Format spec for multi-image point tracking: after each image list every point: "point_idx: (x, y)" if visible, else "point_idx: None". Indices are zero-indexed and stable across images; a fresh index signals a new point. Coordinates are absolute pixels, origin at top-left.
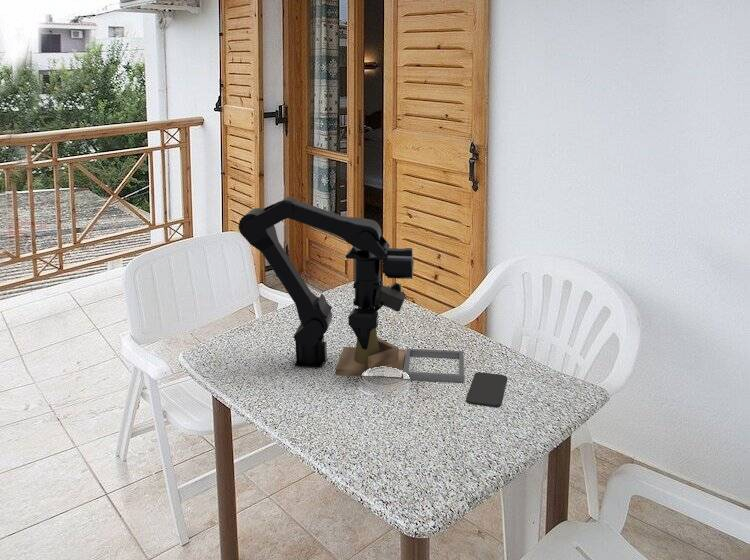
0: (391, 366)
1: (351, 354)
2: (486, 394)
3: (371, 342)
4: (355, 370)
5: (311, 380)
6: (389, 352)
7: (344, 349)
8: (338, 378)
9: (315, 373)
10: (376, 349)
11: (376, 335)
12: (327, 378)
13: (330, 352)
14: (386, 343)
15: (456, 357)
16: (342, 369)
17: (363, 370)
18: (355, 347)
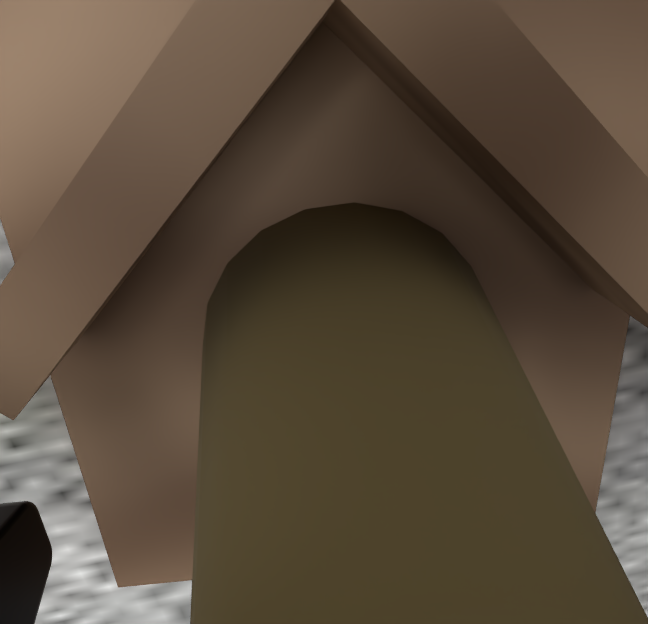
0: (534, 11)
1: None
2: None
3: (551, 430)
4: (611, 390)
5: (645, 604)
6: (530, 45)
7: (178, 569)
8: (622, 468)
9: None
10: (440, 289)
11: (438, 431)
12: (619, 531)
13: (166, 616)
14: (156, 171)
15: None
16: (595, 492)
17: (625, 322)
18: (95, 500)
